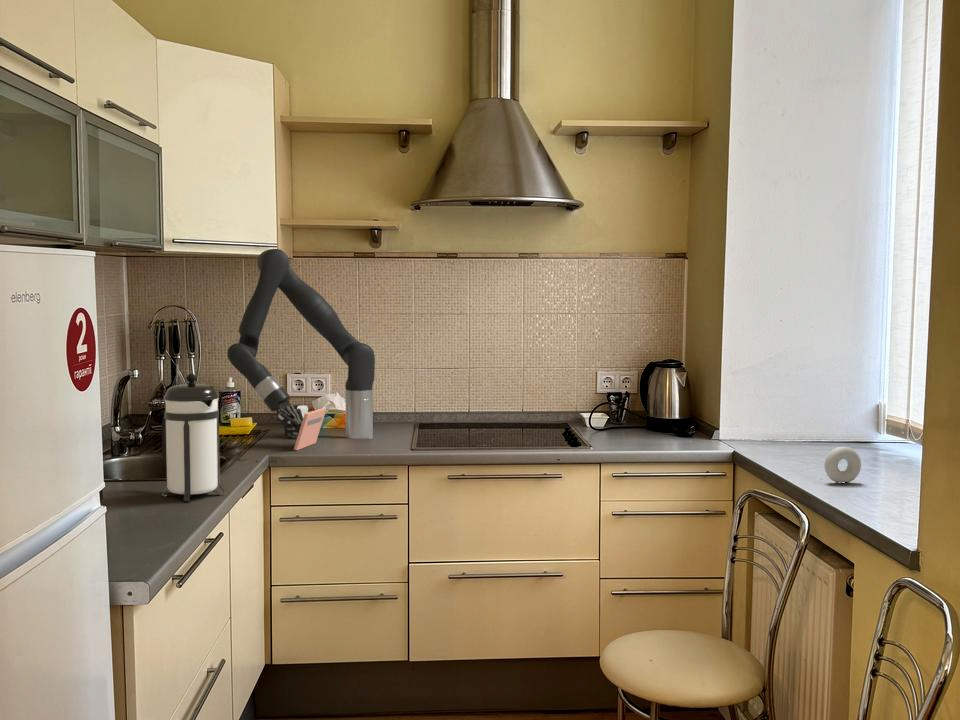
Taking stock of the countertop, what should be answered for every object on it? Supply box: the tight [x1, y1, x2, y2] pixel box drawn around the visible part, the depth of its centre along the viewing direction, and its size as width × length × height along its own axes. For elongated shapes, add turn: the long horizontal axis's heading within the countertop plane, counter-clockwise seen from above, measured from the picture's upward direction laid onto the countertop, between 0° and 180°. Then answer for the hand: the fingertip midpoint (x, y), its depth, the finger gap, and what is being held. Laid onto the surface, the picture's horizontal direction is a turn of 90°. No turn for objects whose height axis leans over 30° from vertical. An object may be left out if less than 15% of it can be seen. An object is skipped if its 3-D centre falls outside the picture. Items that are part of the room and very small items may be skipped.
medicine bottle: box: [283, 404, 309, 440], centre depth 292 cm, size 7×7×12 cm
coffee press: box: [160, 373, 226, 503], centre depth 210 cm, size 17×16×30 cm
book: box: [293, 407, 327, 451], centre depth 272 cm, size 14×1×12 cm, turn 166°
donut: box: [824, 446, 862, 483], centre depth 229 cm, size 10×4×10 cm, turn 98°
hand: (305, 435), depth 273 cm, fingers closed
